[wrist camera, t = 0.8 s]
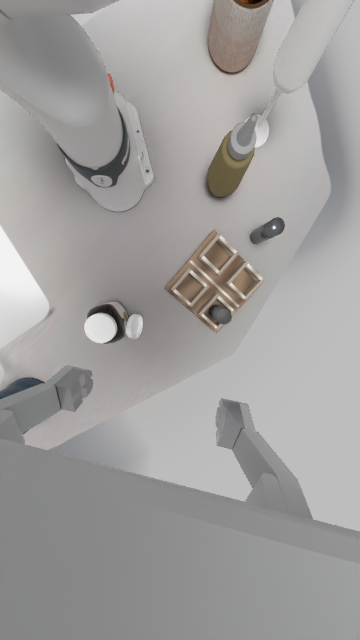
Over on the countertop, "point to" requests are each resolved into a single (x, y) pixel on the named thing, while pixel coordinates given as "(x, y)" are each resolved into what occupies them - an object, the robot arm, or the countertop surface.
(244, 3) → the planter
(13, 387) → the canister
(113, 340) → the spread jar
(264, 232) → the pin
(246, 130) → the squeeze bottle
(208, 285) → the wooden compartment tray
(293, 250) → the countertop surface
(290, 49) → the champagne flute
